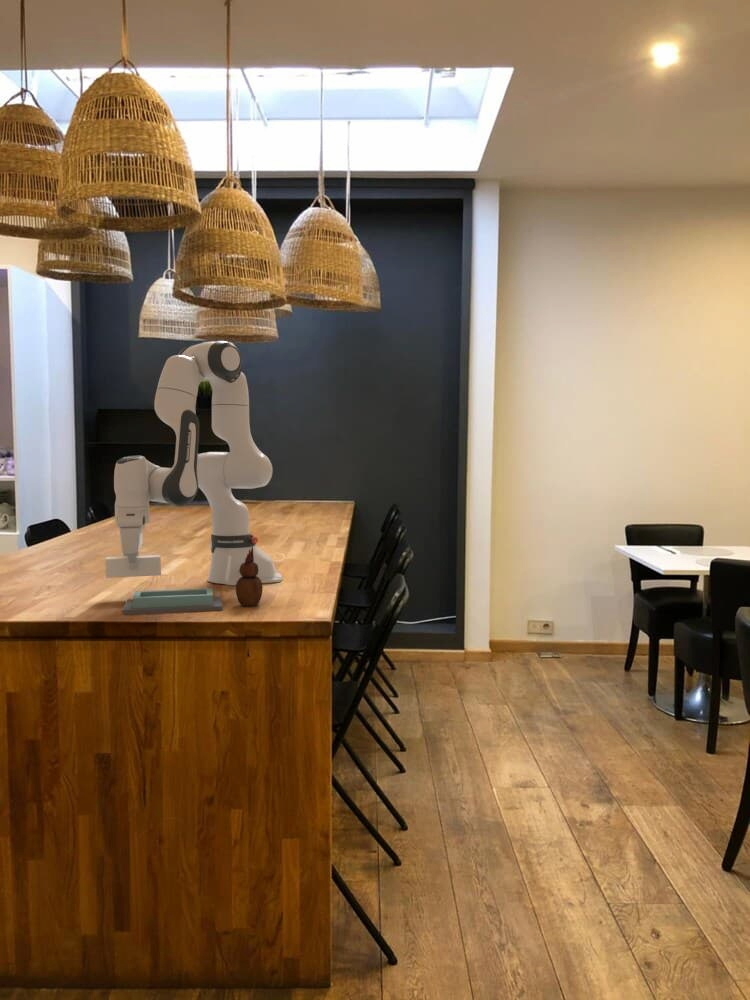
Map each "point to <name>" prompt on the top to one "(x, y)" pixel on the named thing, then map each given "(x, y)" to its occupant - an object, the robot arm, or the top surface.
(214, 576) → the robot arm
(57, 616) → the top surface
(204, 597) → the cradle jig
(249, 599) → the wooden figurine
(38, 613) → the top surface
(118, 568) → the long cream plank
